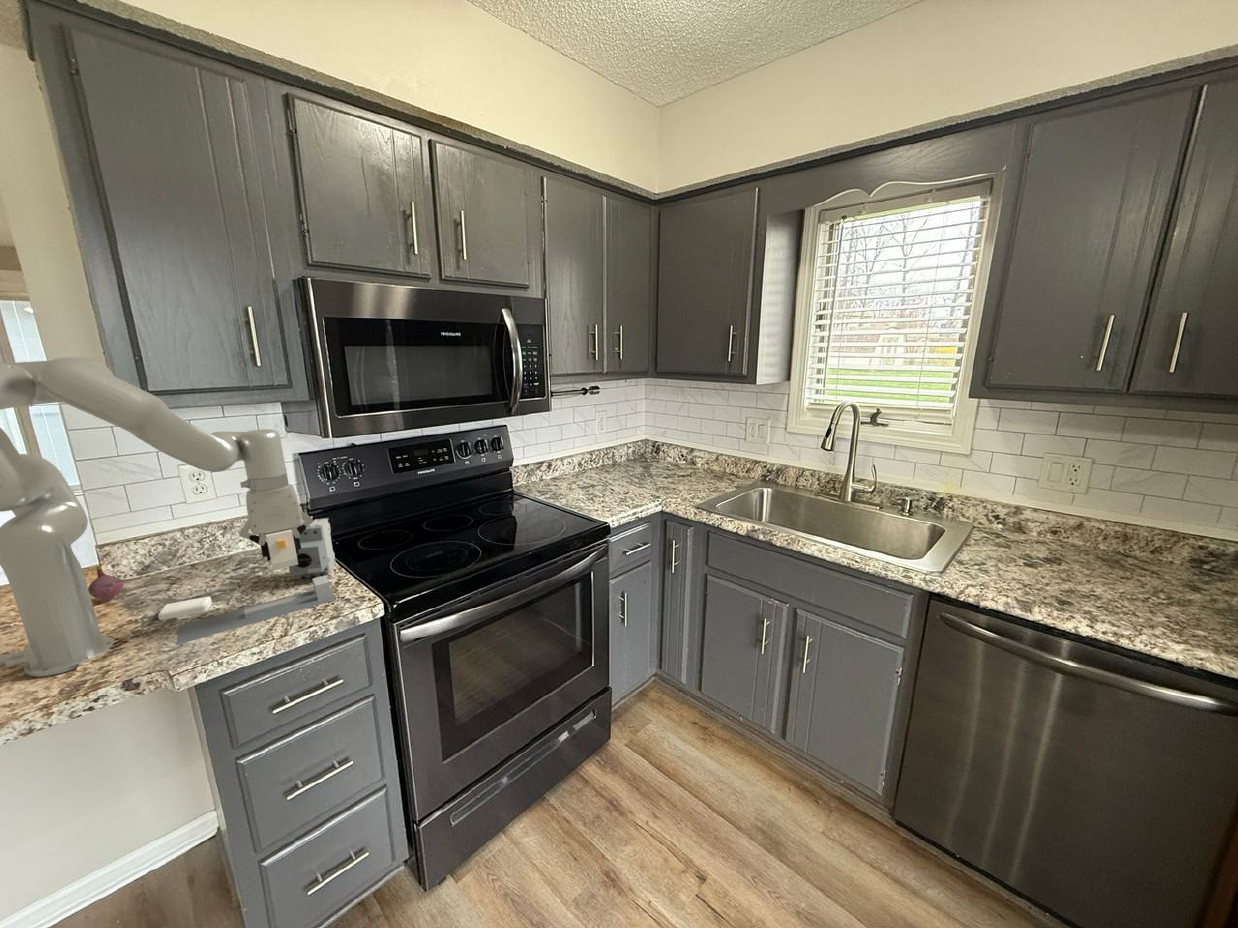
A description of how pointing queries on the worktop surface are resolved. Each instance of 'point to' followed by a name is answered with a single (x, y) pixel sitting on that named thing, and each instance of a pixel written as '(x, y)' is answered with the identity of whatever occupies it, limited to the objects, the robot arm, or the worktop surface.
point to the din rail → (280, 604)
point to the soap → (185, 608)
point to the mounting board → (238, 619)
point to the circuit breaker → (314, 551)
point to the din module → (281, 549)
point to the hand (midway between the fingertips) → (282, 554)
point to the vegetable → (105, 586)
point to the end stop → (322, 587)
